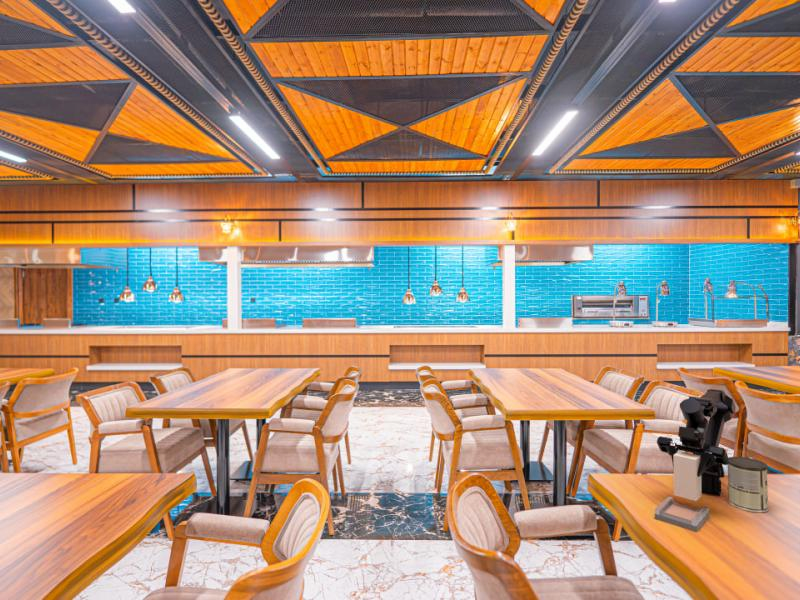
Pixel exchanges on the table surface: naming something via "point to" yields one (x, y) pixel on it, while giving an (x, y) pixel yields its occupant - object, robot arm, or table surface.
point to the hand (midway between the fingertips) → (686, 473)
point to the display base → (681, 514)
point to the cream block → (687, 475)
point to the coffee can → (747, 484)
